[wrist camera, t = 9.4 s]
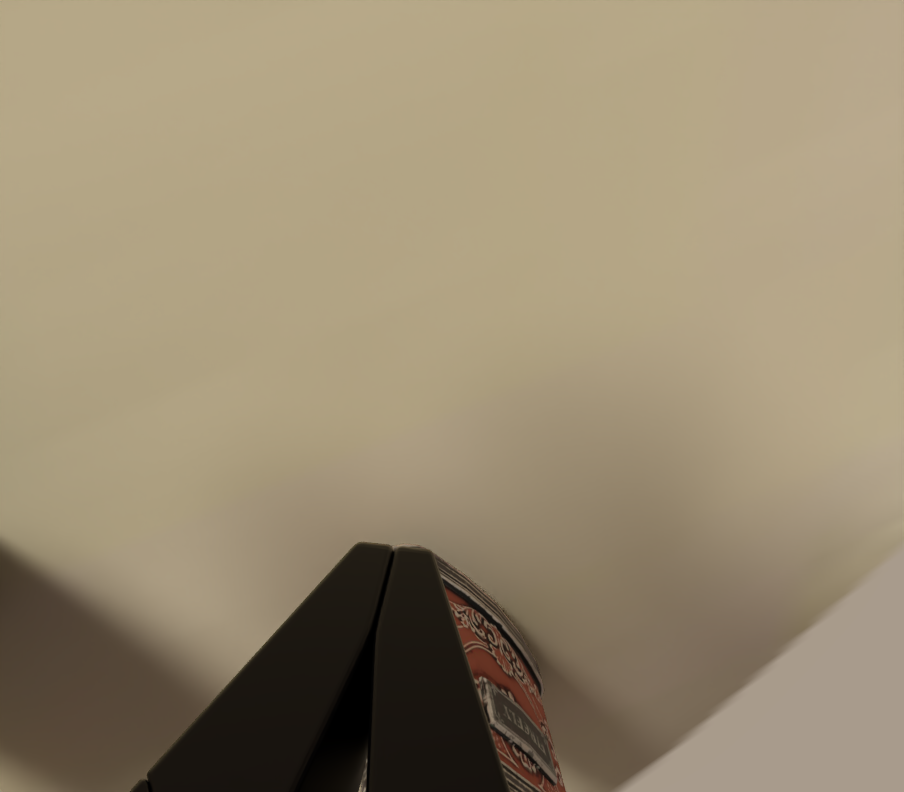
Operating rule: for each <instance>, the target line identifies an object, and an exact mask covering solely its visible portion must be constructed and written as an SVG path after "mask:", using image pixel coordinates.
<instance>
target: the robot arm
mask: <svg viewBox="0 0 904 792" xmlns="http://www.w3.org/2000/svg"><path fill="white" fill-rule="evenodd" d="M366 761H367V777H366V792H511V791H510V788H509V785H508V782H507V779H506V776H505V773H504V769H503V766H502V763H501V760H500V757H499V754H498V751H497V748H496V745H495V742H494V739H493V735H492V732H491V729H490V726H489V723H488V720H487V717H486V714H485V711H484V708H483V704H482V701H481V698H480V695H479V692H478V689H477V686H476V683H475V680H474V677H473V674H472V670H471V667H470V664H469V661H468V658H467V655H466V652H465V649H464V646H463V643H462V640H461V636H460V633H459V630H458V627H457V624H456V621H455V618H454V615H453V612H452V609H451V605H450V602H449V599H448V596H447V593H446V590H445V587H444V584H443V581H442V578H441V575H440V571H439V568H438V565H437V562H436V559H435V556H434V554H433V553H432V551H431V550H429V549H422V548H413V547H405V546H400V547H398V548H397V549H396V550H395V551H394V549H393V547H392V546H390V545H387V544H378V543H368V542H359V543H357V544H355V545H354V546H353V547H352V548H351V549H350V551H349V552H348V553H347V554H346V555H345V556H344V557H343V558H342V559H341V560H340V562H339V563H338V564H337V565H336V566H335V567H334V568H333V569H332V570H331V571H330V573H329V574H328V575H327V576H326V577H325V578H324V579H323V580H322V581H321V582H320V584H319V585H318V586H317V587H316V588H315V589H314V590H313V591H312V592H311V593H310V595H309V596H308V597H307V598H306V599H305V600H304V601H303V602H302V603H301V604H300V605H299V607H298V608H297V609H296V610H295V611H294V612H293V613H292V614H291V615H290V616H289V618H288V619H287V620H286V621H285V622H284V623H283V624H282V625H281V626H280V627H279V629H278V630H277V631H276V632H275V633H274V634H273V635H272V636H271V637H270V638H269V640H268V641H267V642H266V643H265V644H264V645H263V646H262V647H261V648H260V649H259V651H258V652H257V653H256V654H255V655H254V656H253V657H252V658H251V659H250V660H249V662H248V663H247V664H246V665H245V666H244V667H243V668H242V669H241V670H240V671H239V673H238V674H237V675H236V676H235V677H234V678H233V679H232V680H231V681H230V682H229V684H228V685H227V686H226V687H225V688H224V689H223V690H222V691H221V692H220V693H219V695H218V696H217V697H216V698H215V699H214V700H213V701H212V702H211V703H210V704H209V706H208V707H207V708H206V709H205V710H204V711H203V712H202V713H201V714H200V715H199V717H198V718H197V719H196V720H195V721H194V722H193V723H192V724H191V725H190V726H189V728H188V729H187V730H186V731H185V732H184V733H183V734H182V735H181V736H180V737H179V739H178V740H177V741H176V742H175V743H174V744H173V745H172V746H171V747H170V748H169V750H168V751H167V752H166V753H165V754H164V755H163V756H162V757H161V758H160V759H159V761H158V762H157V763H156V764H155V765H154V766H153V767H152V768H151V769H150V770H149V772H148V773H147V779H148V781H147V780H145V779H142V780H140V781H139V782H138V783H137V784H136V785H135V786H134V787H133V789H132V790H131V791H130V792H358V790H359V787H360V783H361V780H362V776H363V773H364V769H365V765H366Z"/></svg>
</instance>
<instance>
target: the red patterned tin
mask: <svg viewBox="0 0 904 792" xmlns="http://www.w3.org/2000/svg"><path fill="white" fill-rule="evenodd" d="M400 546H405V547H413V548H422V549H426V548H423V547H421V546H418V545H411V544H401V545H396V546H392V547H393V549H394V551H395V550H396V549H397V548H398V547H400ZM433 554H434V553H433ZM434 556H435V559H436V562H437V565H438V568H439V571H440V575H441V578H442V581H443V584H444V587H445V590H446V593H447V596H448V599H449V602H450V605H451V609H452V612H453V615H454V618H455V621H456V624H457V627H458V630H459V633H460V636H461V640H462V643H463V646H464V649H465V652H466V655H467V658H468V661H469V664H470V667H471V670H472V674H473V677H474V680H475V683H476V686H477V689H478V692H479V695H480V698H481V701H482V704H483V708H484V711H485V714H486V717H487V720H488V723H489V726H490V729H491V732H492V735H493V739H494V742H495V745H496V748H497V751H498V754H499V757H500V760H501V763H502V766H503V769H504V773H505V776H506V779H507V782H508V785H509V788H510V791H511V792H566V790H565V787H564V783H563V779H562V776H561V772H560V768H559V765H558V761H557V757H556V753H555V750H554V746H553V742H552V739H551V735H550V731H549V728H548V724H547V720H546V717H545V713H544V709H543V705H542V702H541V699H542V696H543V693H544V687H543V683H542V679H541V675H540V672H539V668H538V665H537V662H536V660H535V658H534V656H533V655H532V653H531V651H530V649H529V648H528V646H527V644H526V642H525V641H524V639H523V637H522V635H521V634H520V632H519V631H518V630H517V628H516V627H515V626H514V625H513V623H512V622H511V621H510V620H509V618H508V617H507V616H506V615H505V613H504V612H503V611H502V610H501V608H500V607H499V606H498V605H497V603H496V602H495V601H494V600H492V599H491V598H490V597H489V596H488V595H487V594H486V593H485V592H484V591H482V590H481V589H480V588H479V587H478V586H477V585H476V584H475V583H473V582H472V581H471V580H470V579H469V578H468V577H467V576H466V575H465V574H463V573H462V572H460V571H459V570H457V569H456V568H454V567H453V566H451V565H450V564H449V563H447V562H446V561H444V560H443V559H441V558H440V557H438V556H437V555H435V554H434ZM366 777H367V761H366V765H365V769H364V773H363V776H362V780H361V789H362V792H366Z"/></svg>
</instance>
